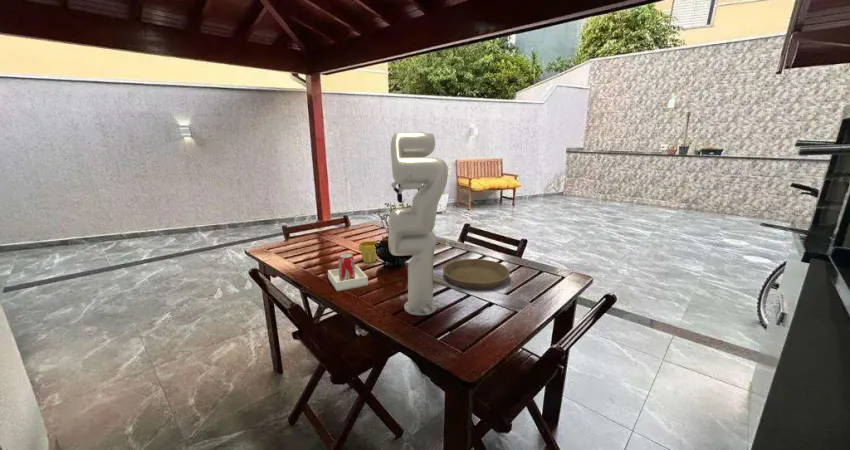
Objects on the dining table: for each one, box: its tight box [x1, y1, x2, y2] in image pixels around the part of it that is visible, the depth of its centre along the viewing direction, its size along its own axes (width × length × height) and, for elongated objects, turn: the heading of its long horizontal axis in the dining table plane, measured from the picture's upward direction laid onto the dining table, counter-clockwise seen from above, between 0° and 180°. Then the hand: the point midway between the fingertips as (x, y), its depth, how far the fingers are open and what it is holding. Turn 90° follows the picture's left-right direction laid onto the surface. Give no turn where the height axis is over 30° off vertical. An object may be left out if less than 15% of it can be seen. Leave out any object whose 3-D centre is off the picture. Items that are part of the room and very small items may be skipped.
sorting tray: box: [327, 265, 369, 292], centre depth 160 cm, size 16×14×4 cm
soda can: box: [337, 252, 356, 281], centre depth 159 cm, size 7×7×12 cm
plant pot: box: [358, 240, 378, 264], centre depth 187 cm, size 10×10×10 cm
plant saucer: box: [442, 258, 511, 290], centre depth 166 cm, size 31×31×5 cm
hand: (409, 201), depth 158 cm, fingers open, 9 cm apart
